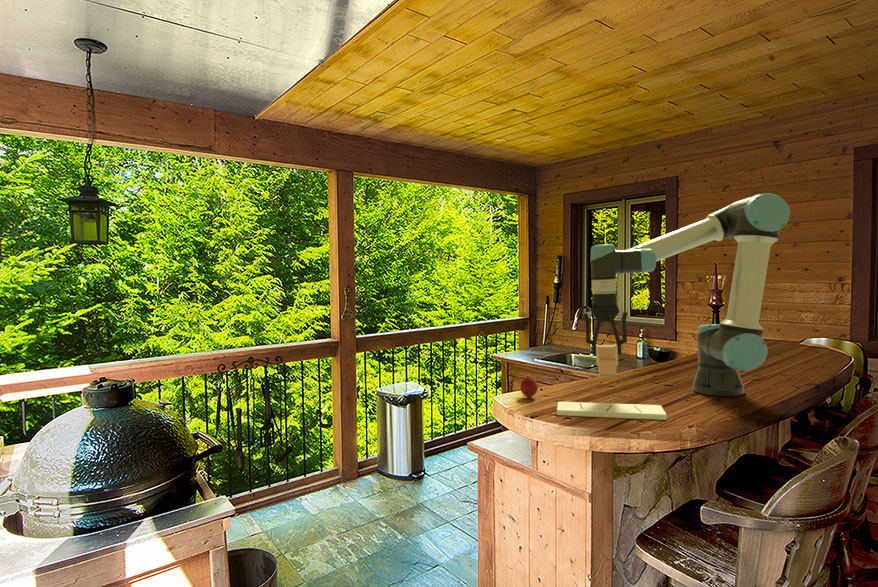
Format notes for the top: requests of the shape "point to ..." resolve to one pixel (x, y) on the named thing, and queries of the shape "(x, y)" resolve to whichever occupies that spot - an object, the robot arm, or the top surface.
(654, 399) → the top surface
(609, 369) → the block
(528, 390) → the onion
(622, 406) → the board
